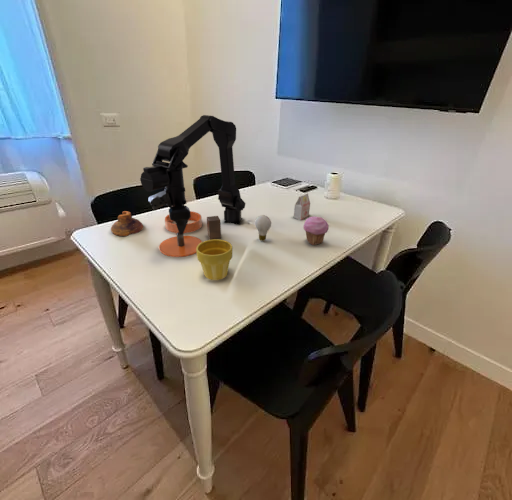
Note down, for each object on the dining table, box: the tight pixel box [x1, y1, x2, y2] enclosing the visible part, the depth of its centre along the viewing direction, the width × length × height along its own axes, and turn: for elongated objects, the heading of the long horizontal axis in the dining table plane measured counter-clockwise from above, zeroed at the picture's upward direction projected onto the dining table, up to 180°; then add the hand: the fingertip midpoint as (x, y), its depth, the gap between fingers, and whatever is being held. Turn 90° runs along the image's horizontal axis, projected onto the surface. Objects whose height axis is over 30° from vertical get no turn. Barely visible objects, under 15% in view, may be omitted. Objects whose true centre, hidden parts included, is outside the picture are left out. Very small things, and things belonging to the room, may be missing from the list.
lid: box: [158, 232, 203, 258], centre depth 105 cm, size 15×15×6 cm
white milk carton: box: [293, 193, 311, 221], centre depth 132 cm, size 4×7×10 cm, turn 139°
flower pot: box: [196, 239, 233, 281], centre depth 90 cm, size 10×10×10 cm
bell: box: [110, 210, 144, 237], centre depth 117 cm, size 12×12×7 cm
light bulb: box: [254, 214, 272, 242], centre depth 110 cm, size 6×6×10 cm
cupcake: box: [302, 215, 330, 246], centre depth 110 cm, size 9×9×10 cm
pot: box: [164, 210, 203, 234], centre depth 121 cm, size 14×14×4 cm
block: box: [206, 215, 222, 240], centre depth 112 cm, size 4×4×8 cm
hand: (179, 228), depth 103 cm, fingers open, 9 cm apart
